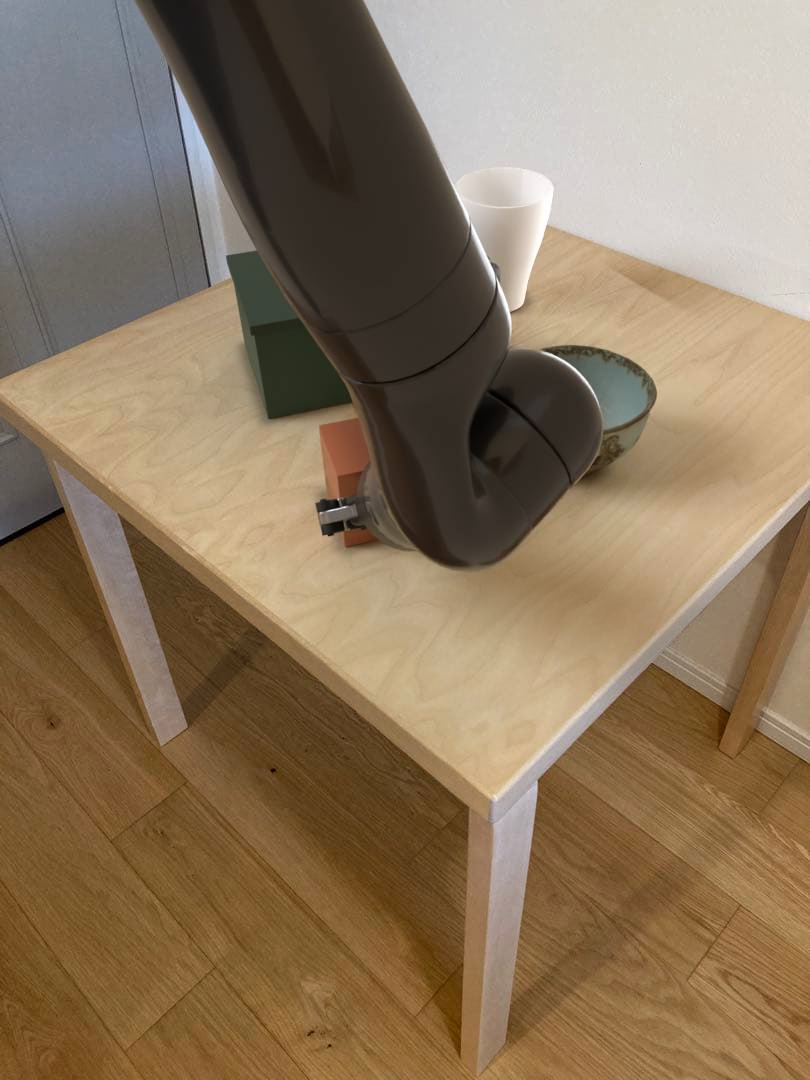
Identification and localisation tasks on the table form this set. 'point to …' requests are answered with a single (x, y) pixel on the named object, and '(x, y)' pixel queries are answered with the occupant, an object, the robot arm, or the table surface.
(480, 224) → the cup
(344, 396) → the box
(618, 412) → the bowl
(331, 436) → the block
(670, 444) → the table surface
